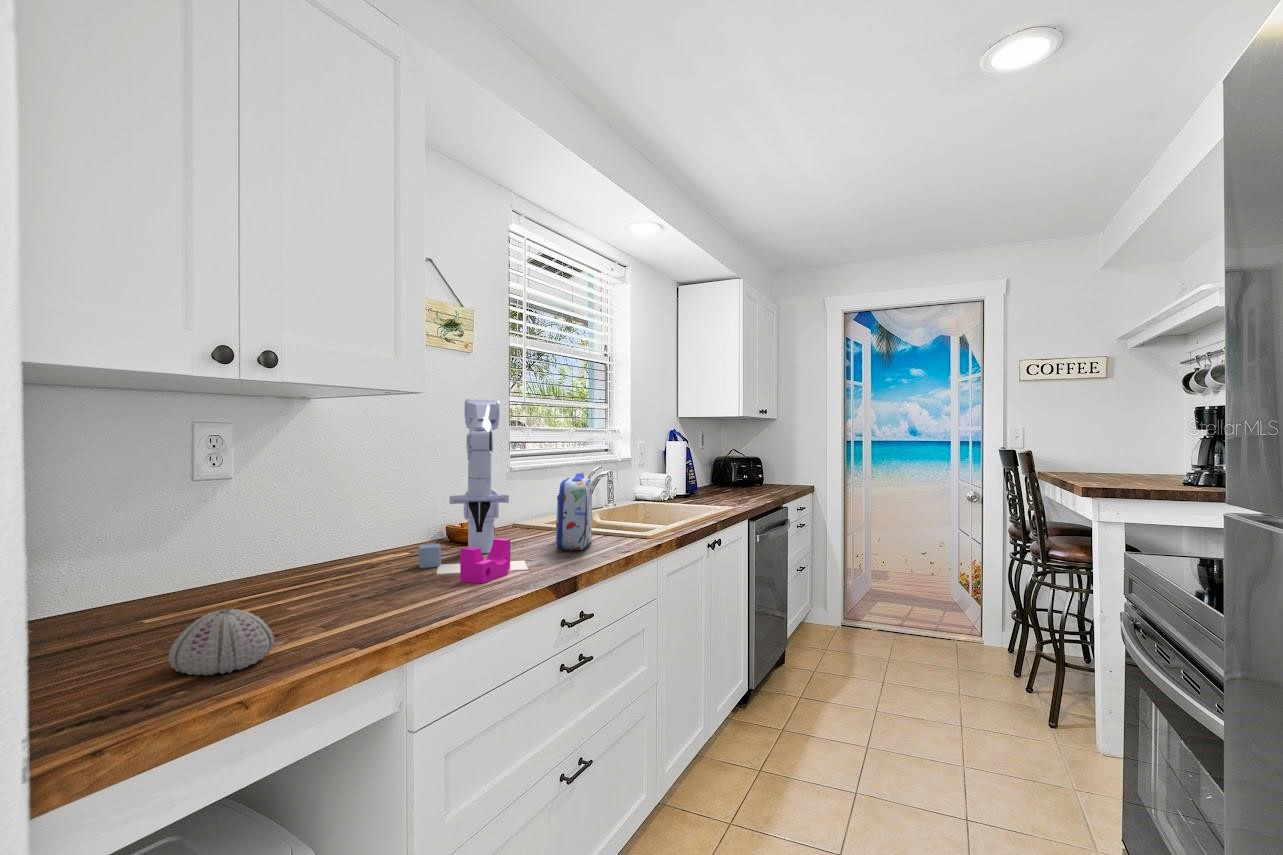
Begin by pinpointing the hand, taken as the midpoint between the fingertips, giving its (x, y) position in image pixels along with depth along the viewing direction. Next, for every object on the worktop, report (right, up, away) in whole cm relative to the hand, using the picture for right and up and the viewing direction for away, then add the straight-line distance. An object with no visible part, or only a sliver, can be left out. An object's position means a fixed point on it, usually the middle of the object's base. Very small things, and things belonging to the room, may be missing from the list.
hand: (479, 531), depth 162 cm
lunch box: (+21, -10, +33) cm, 40 cm away
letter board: (+1, -9, +1) cm, 9 cm away
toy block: (+5, -9, -8) cm, 13 cm away
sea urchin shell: (-21, -9, -66) cm, 71 cm away
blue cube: (-13, -9, +3) cm, 17 cm away
